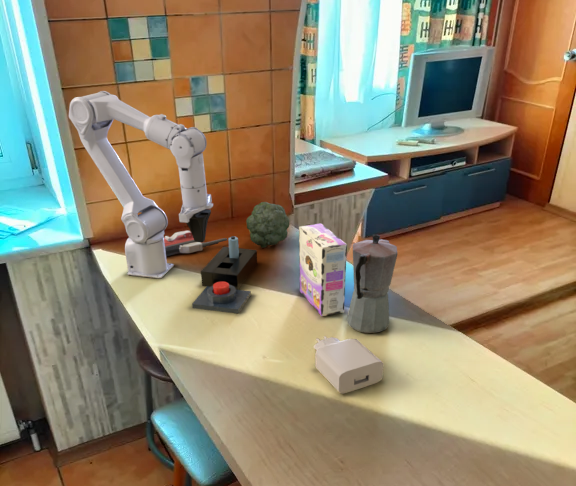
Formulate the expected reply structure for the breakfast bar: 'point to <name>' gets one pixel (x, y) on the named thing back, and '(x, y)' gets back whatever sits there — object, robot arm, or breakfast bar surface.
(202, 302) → the grey button base
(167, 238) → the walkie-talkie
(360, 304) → the moka pot
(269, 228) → the vegetable
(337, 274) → the candy box
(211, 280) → the holder
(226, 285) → the power button
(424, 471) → the breakfast bar surface
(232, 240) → the light blue tube
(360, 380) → the charger
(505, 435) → the breakfast bar surface
